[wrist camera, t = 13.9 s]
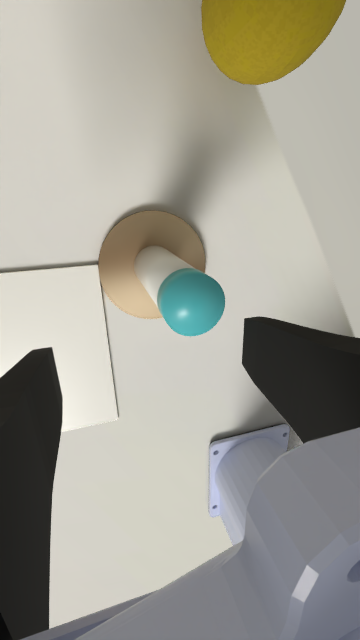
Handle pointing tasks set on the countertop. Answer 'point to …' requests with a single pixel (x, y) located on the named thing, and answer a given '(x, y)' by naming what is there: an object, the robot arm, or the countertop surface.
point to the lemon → (265, 35)
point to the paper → (61, 336)
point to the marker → (180, 291)
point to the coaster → (125, 248)
